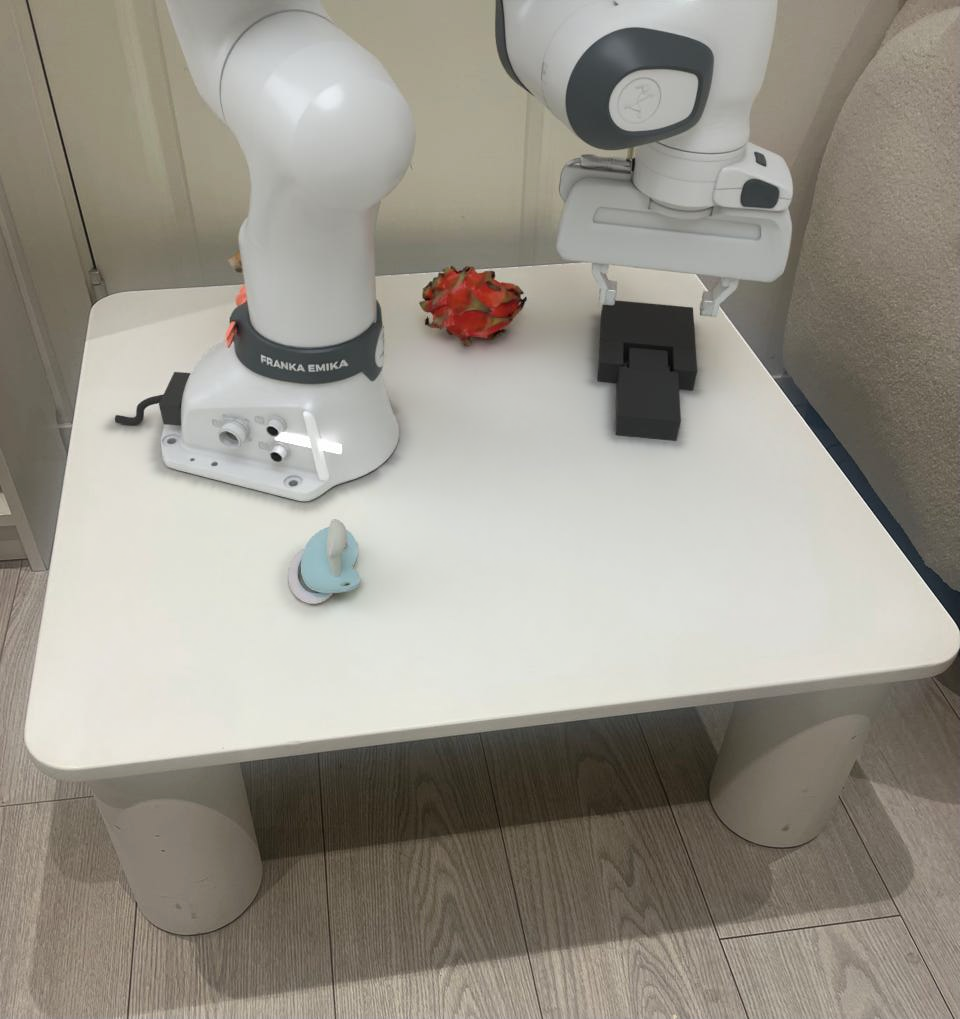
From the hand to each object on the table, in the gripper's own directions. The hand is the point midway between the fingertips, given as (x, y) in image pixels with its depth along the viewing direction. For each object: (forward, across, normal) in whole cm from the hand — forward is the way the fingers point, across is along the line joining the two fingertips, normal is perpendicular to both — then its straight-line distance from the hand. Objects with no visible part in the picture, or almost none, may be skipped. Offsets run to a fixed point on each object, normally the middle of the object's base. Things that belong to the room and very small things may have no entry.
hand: (656, 307), depth 94 cm
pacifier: (+14, -26, -26) cm, 39 cm away
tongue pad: (+12, +1, +2) cm, 13 cm away
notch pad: (+12, +1, +11) cm, 16 cm away
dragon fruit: (+13, -18, +12) cm, 25 cm away
